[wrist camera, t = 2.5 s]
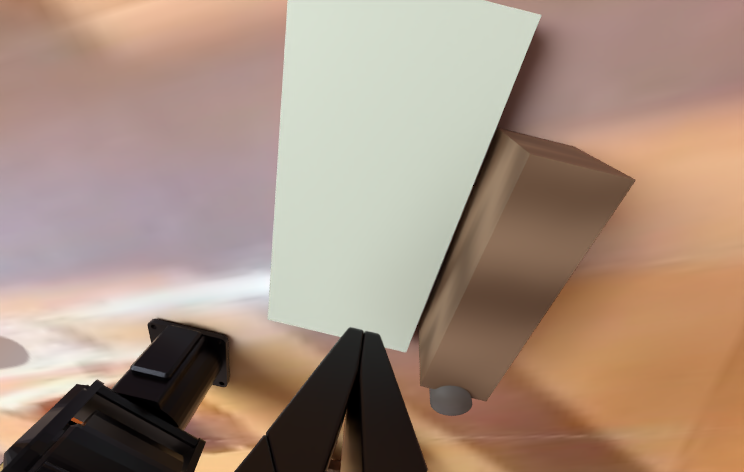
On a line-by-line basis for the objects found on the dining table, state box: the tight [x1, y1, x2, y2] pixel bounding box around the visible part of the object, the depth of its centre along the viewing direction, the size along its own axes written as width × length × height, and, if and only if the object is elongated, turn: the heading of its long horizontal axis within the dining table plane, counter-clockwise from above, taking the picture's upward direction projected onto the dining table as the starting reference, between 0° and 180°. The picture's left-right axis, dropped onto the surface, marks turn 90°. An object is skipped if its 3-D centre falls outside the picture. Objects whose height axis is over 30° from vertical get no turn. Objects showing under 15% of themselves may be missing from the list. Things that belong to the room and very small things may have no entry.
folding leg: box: [418, 128, 635, 416], centre depth 18 cm, size 16×4×5 cm, turn 168°
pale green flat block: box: [268, 0, 541, 352], centre depth 18 cm, size 20×10×2 cm, turn 168°
